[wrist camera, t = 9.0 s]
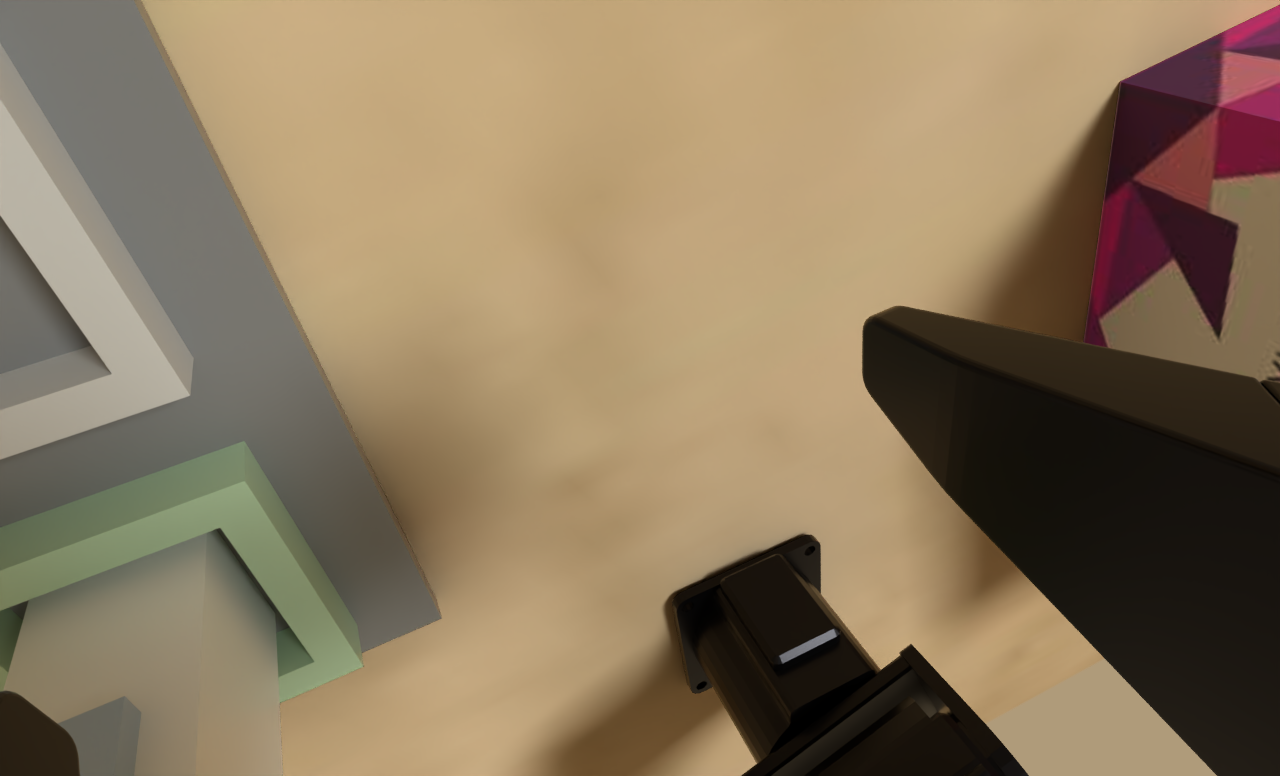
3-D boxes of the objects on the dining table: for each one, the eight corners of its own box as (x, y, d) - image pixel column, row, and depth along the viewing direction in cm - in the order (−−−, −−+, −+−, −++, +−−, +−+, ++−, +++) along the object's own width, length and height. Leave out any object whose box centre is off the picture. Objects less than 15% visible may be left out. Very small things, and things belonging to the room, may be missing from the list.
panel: (436, 600, 25) (452, 657, 23) (36, 770, 22) (18, 851, 21) (78, -125, 13) (53, -123, 11) (-891, 48, 10) (-1133, 89, 8)
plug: (275, 613, 22) (289, 901, 16) (124, 674, 21) (78, 1006, 15) (196, 500, 19) (176, 798, 13) (18, 565, 18) (-92, 918, 12)
